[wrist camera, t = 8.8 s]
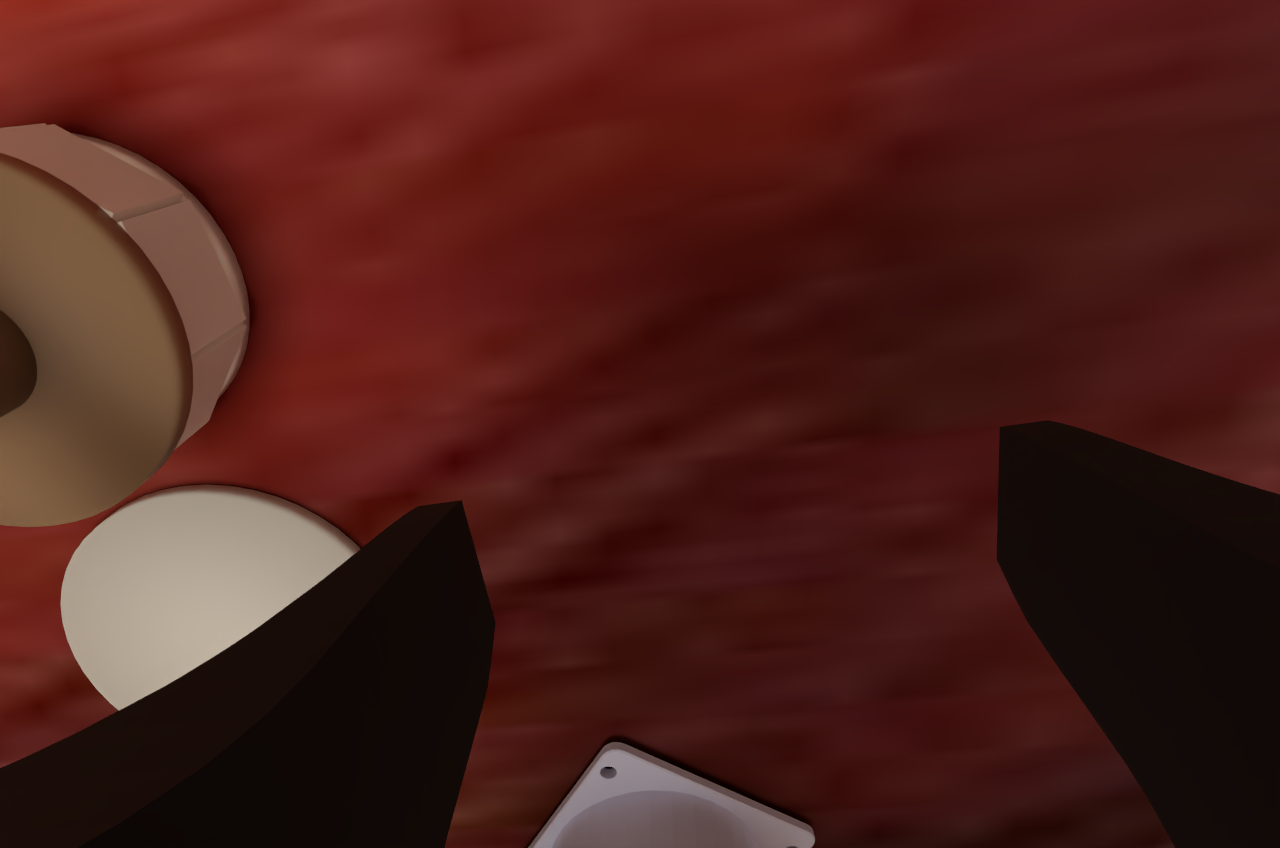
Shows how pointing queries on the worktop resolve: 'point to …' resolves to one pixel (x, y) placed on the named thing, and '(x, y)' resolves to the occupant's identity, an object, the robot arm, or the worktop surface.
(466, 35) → the worktop surface
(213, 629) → the coaster
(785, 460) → the worktop surface
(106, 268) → the lid
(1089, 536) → the robot arm
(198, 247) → the bowl
